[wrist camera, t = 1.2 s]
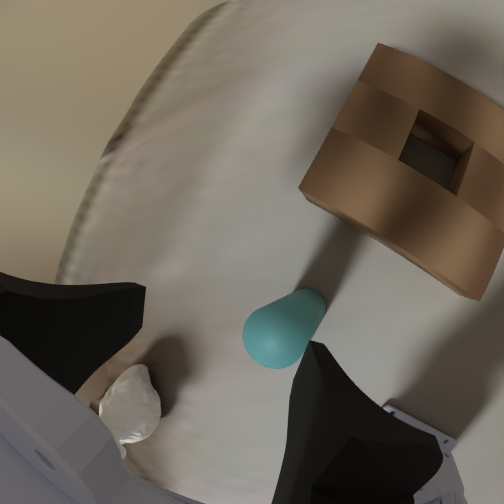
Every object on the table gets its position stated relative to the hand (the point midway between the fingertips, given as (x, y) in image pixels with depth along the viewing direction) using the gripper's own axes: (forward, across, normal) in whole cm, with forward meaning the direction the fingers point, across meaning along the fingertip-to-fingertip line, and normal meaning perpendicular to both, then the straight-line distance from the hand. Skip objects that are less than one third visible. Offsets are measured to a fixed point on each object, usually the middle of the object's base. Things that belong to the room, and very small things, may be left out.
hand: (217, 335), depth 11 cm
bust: (+10, +8, +18) cm, 22 cm away
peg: (+10, -4, +2) cm, 11 cm away
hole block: (+11, -10, -11) cm, 19 cm away
